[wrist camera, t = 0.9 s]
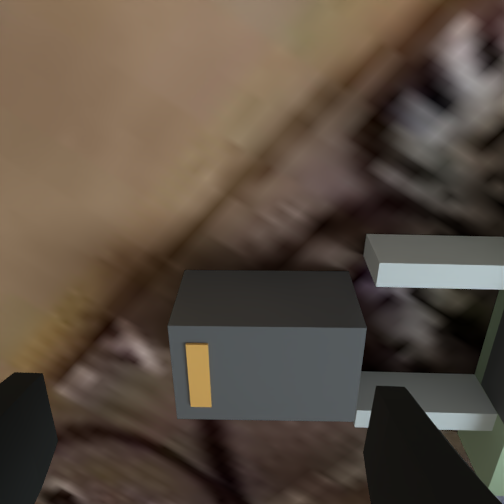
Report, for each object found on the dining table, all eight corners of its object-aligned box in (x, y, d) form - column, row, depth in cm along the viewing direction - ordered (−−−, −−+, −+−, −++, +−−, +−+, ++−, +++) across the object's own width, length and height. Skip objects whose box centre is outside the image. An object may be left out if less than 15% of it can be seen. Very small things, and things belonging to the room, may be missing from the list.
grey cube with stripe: (339, 352, 22) (354, 423, 18) (191, 350, 22) (177, 420, 19) (348, 269, 20) (367, 329, 16) (185, 268, 20) (167, 327, 17)
